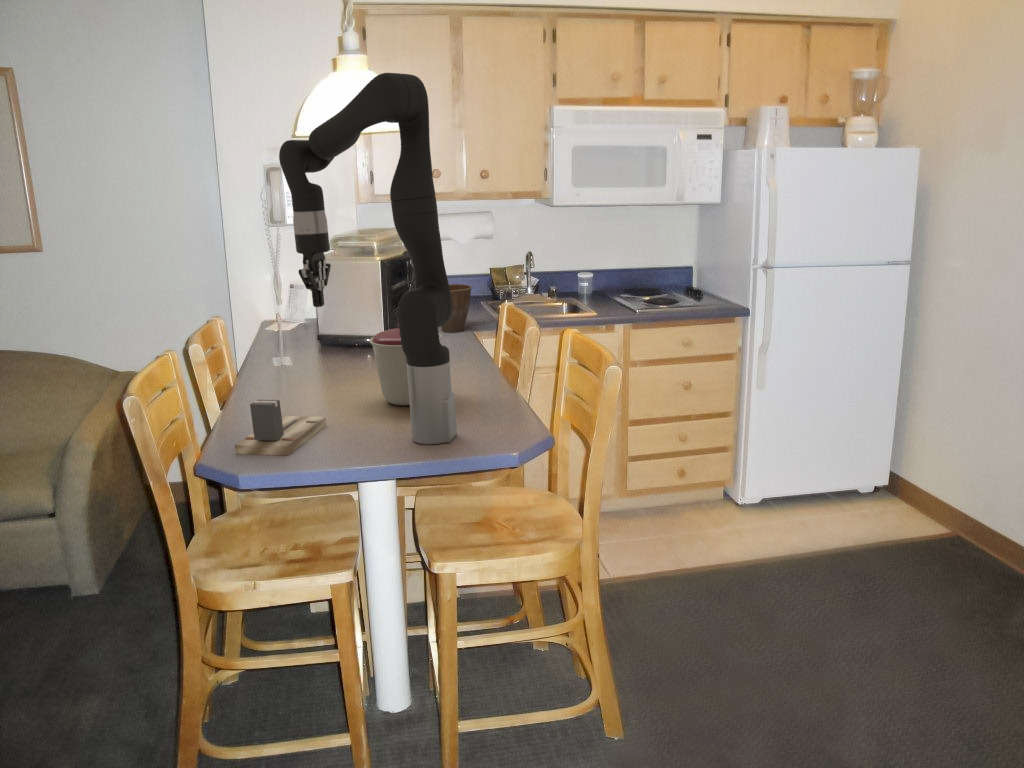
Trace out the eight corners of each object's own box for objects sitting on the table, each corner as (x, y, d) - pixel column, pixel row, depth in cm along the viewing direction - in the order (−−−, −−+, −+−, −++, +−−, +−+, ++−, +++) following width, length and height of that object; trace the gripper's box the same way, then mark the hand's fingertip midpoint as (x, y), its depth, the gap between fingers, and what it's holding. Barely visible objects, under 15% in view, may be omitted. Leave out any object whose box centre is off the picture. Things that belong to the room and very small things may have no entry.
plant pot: (480, 331, 282) (478, 287, 278) (443, 336, 275) (440, 291, 271) (462, 325, 294) (459, 283, 290) (426, 330, 287) (423, 287, 283)
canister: (459, 396, 202) (455, 316, 197) (413, 414, 188) (407, 329, 182) (407, 387, 212) (401, 311, 206) (360, 404, 198) (352, 323, 192)
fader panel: (326, 425, 183) (325, 416, 182) (288, 455, 164) (287, 445, 163) (279, 423, 185) (277, 415, 184) (235, 453, 166) (234, 444, 165)
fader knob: (284, 435, 169) (279, 399, 167) (276, 440, 166) (272, 404, 164) (262, 434, 170) (257, 399, 168) (254, 440, 167) (249, 403, 164)
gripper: (314, 233, 171) (322, 311, 175) (337, 228, 183) (344, 301, 188) (282, 234, 172) (291, 311, 177) (308, 229, 185) (315, 301, 189)
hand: (319, 306), depth 182 cm, fingers closed
